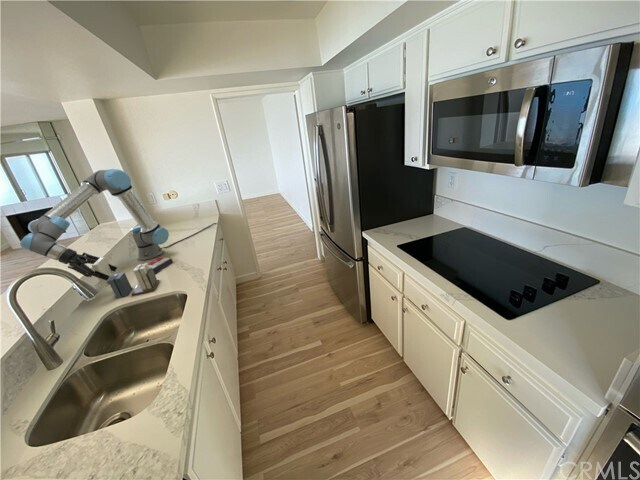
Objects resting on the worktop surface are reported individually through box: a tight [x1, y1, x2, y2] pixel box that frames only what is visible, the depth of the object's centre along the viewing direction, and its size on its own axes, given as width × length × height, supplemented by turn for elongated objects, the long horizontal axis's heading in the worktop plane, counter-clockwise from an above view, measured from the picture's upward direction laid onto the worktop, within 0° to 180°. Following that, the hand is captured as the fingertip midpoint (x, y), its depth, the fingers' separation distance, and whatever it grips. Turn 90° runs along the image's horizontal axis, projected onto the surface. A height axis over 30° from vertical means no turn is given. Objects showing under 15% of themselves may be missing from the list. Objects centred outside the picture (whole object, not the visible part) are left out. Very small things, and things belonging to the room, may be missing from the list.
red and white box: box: [147, 257, 173, 275], centre depth 172 cm, size 11×4×15 cm
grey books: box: [108, 272, 133, 299], centre depth 145 cm, size 7×5×11 cm
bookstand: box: [131, 262, 160, 297], centre depth 147 cm, size 11×11×14 cm
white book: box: [91, 256, 114, 288], centre depth 140 cm, size 9×2×13 cm, turn 16°
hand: (112, 273), depth 142 cm, fingers closed on white book, 9 cm apart
